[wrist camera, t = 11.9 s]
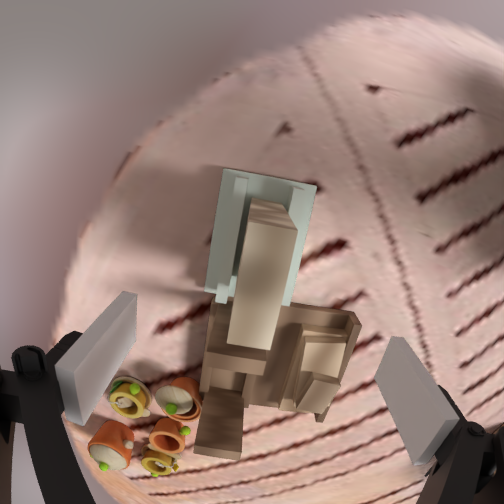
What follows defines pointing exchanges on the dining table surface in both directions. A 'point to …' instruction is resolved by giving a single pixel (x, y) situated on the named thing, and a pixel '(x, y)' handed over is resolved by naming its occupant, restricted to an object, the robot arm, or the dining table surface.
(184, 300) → the dining table surface
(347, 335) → the rack
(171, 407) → the toy tea set
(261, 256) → the birch block
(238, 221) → the stand
